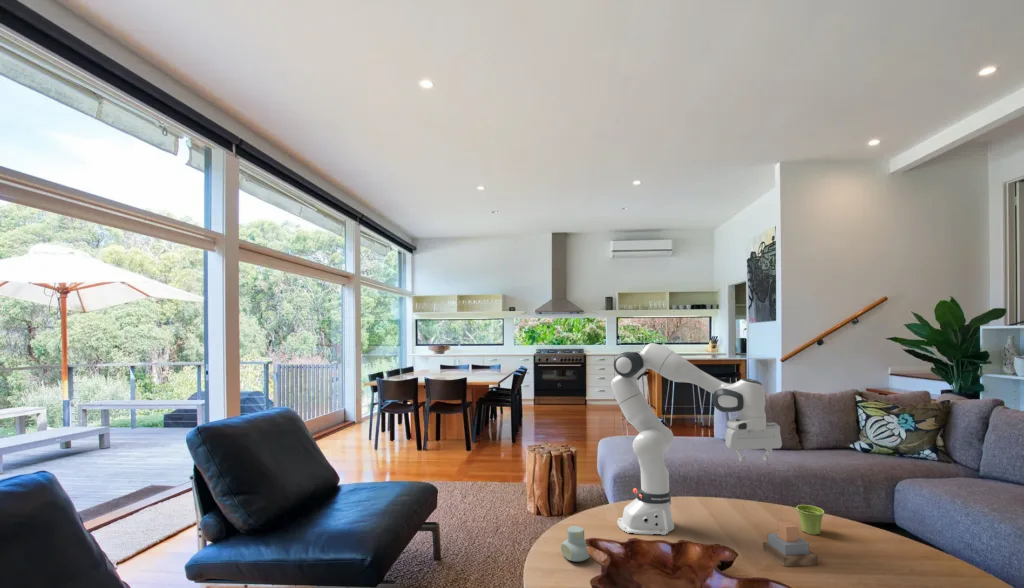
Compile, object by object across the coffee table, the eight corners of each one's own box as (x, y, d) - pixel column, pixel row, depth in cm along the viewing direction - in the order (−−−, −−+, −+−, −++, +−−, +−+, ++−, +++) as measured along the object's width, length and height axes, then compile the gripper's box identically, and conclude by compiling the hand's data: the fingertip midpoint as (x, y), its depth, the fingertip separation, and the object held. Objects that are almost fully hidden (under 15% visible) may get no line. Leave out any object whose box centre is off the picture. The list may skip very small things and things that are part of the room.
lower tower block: (783, 568, 165) (783, 557, 166) (763, 551, 177) (762, 541, 177) (817, 566, 166) (817, 556, 166) (794, 550, 178) (794, 540, 178)
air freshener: (558, 553, 176) (557, 525, 177) (578, 549, 179) (577, 521, 180) (574, 567, 166) (573, 537, 167) (594, 562, 169) (594, 532, 170)
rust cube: (786, 542, 169) (786, 527, 170) (777, 536, 174) (777, 522, 174) (798, 541, 170) (797, 526, 170) (789, 535, 174) (788, 521, 175)
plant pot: (823, 529, 194) (822, 506, 195) (827, 538, 186) (826, 515, 186) (796, 525, 198) (795, 503, 199) (798, 534, 190) (797, 511, 190)
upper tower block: (785, 555, 167) (785, 545, 167) (768, 543, 176) (767, 533, 176) (809, 553, 168) (808, 543, 168) (791, 541, 177) (790, 532, 177)
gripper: (774, 420, 187) (775, 457, 186) (722, 421, 185) (723, 459, 184) (784, 424, 180) (786, 462, 179) (731, 425, 179) (732, 464, 178)
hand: (754, 460), depth 182 cm, fingers open, 8 cm apart
